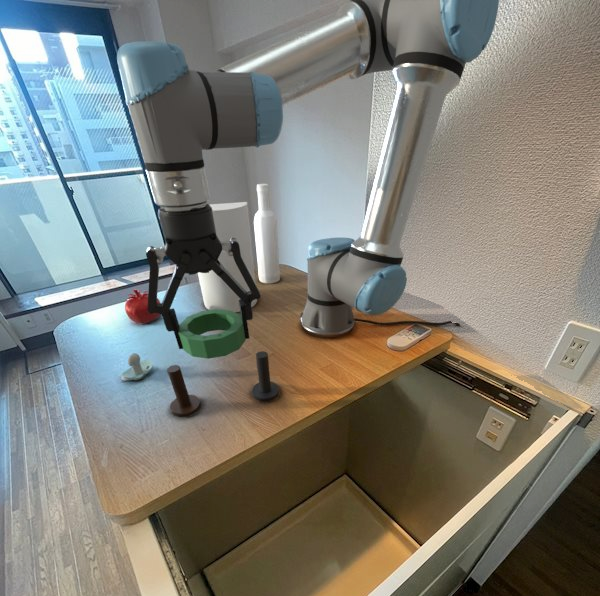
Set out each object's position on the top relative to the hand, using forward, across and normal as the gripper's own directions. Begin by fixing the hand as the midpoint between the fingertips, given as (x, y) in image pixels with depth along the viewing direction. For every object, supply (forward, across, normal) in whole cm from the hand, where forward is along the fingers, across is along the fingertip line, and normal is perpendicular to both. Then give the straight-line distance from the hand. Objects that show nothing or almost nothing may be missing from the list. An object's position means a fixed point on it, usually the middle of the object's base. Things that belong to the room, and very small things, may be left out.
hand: (214, 340), depth 60 cm
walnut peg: (+14, -9, 0) cm, 17 cm away
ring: (0, 0, 0) cm, 0 cm away
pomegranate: (+15, -20, +45) cm, 51 cm away
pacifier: (+15, -20, +15) cm, 29 cm away
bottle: (+15, +22, +65) cm, 70 cm away
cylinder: (+15, +6, +50) cm, 52 cm away
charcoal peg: (+15, +8, 0) cm, 17 cm away
